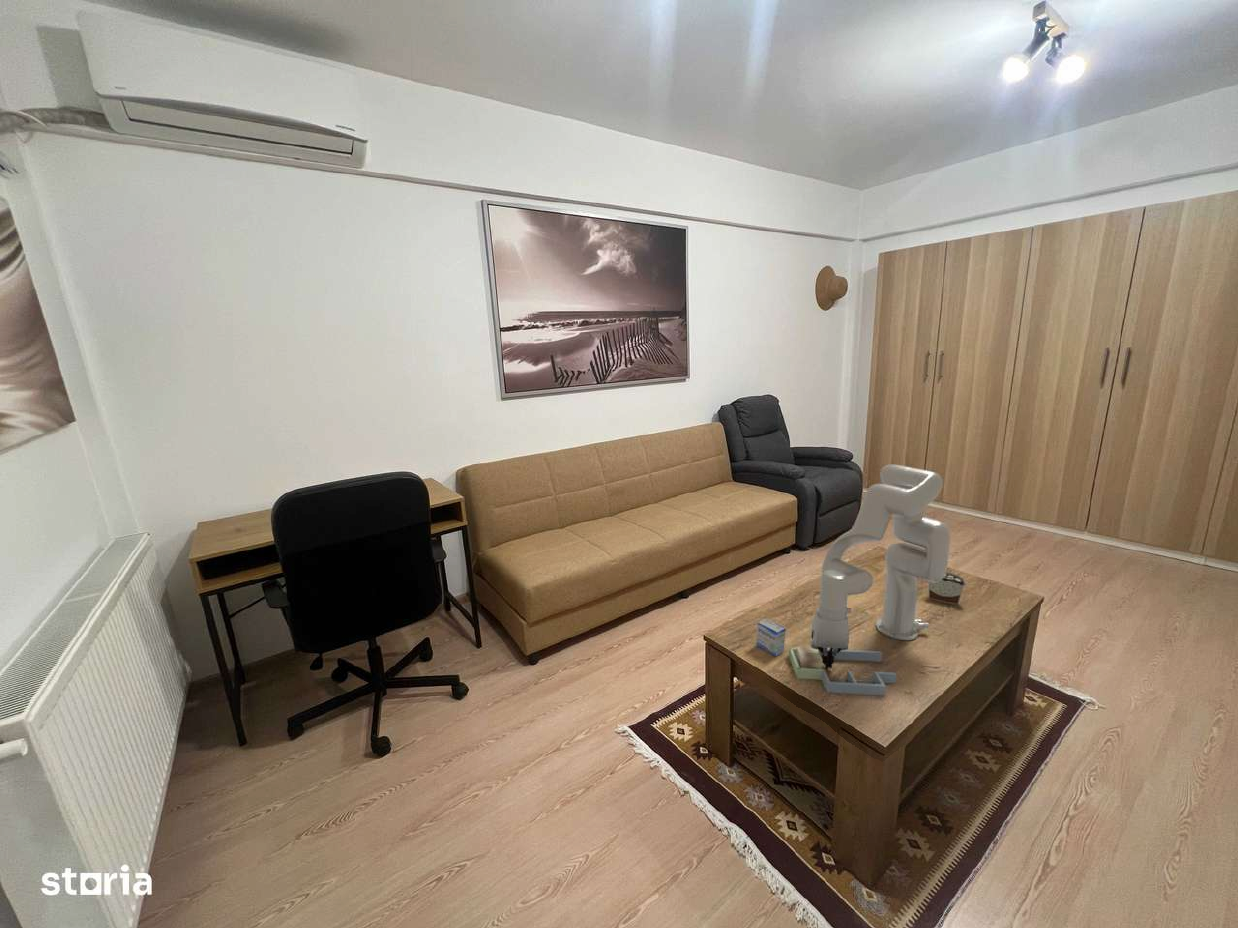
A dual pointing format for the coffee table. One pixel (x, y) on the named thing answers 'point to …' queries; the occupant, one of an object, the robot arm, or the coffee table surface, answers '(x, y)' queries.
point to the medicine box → (770, 637)
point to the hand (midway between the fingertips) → (827, 665)
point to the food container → (947, 589)
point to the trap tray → (850, 684)
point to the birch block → (808, 658)
